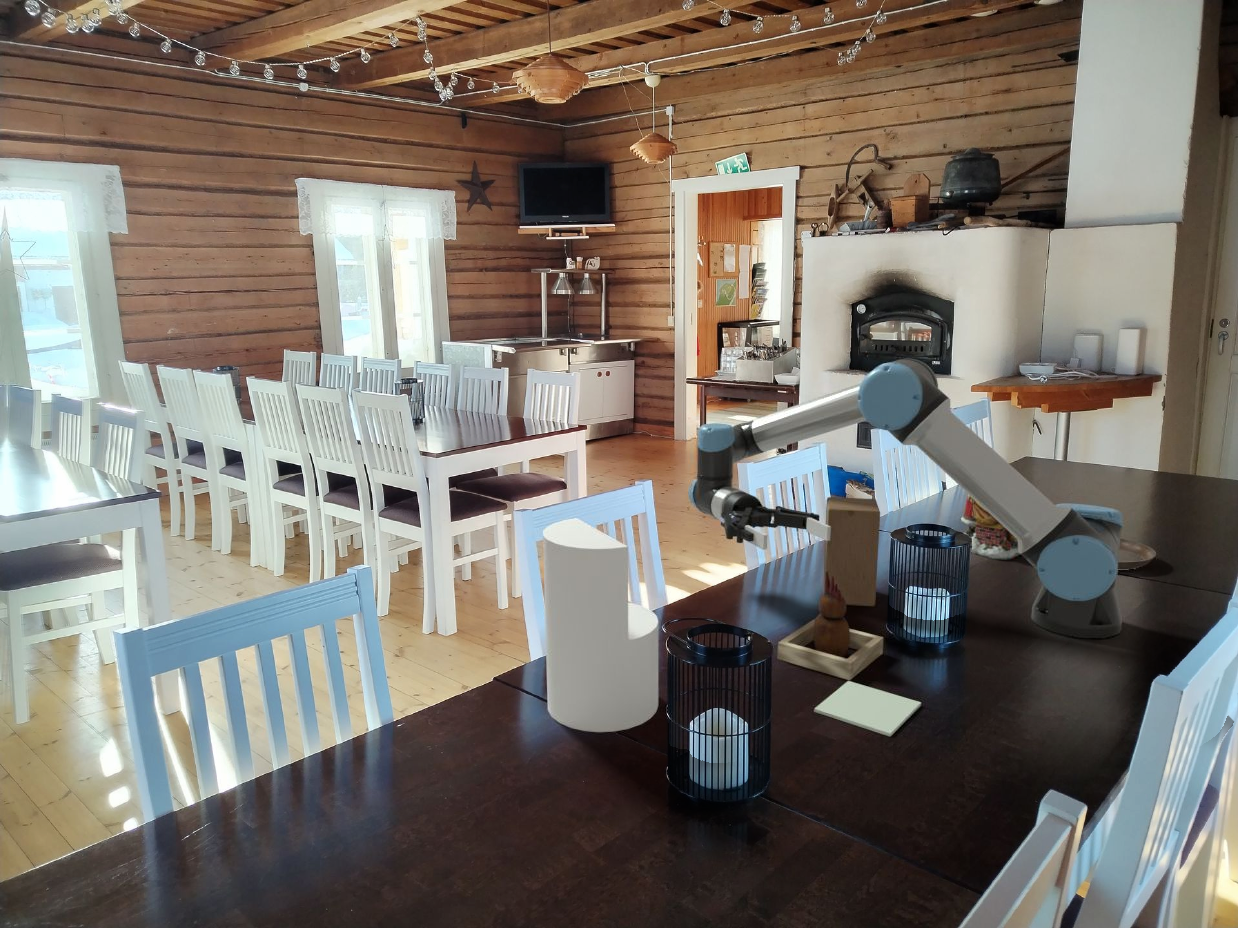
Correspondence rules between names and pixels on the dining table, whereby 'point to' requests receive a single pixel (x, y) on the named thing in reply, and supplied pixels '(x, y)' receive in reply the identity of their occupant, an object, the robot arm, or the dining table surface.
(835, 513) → the wooden block
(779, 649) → the pale wood square frame
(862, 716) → the sage mat
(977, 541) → the santa figurine
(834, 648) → the wooden figurine
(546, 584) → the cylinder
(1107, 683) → the dining table surface
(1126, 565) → the plant saucer
